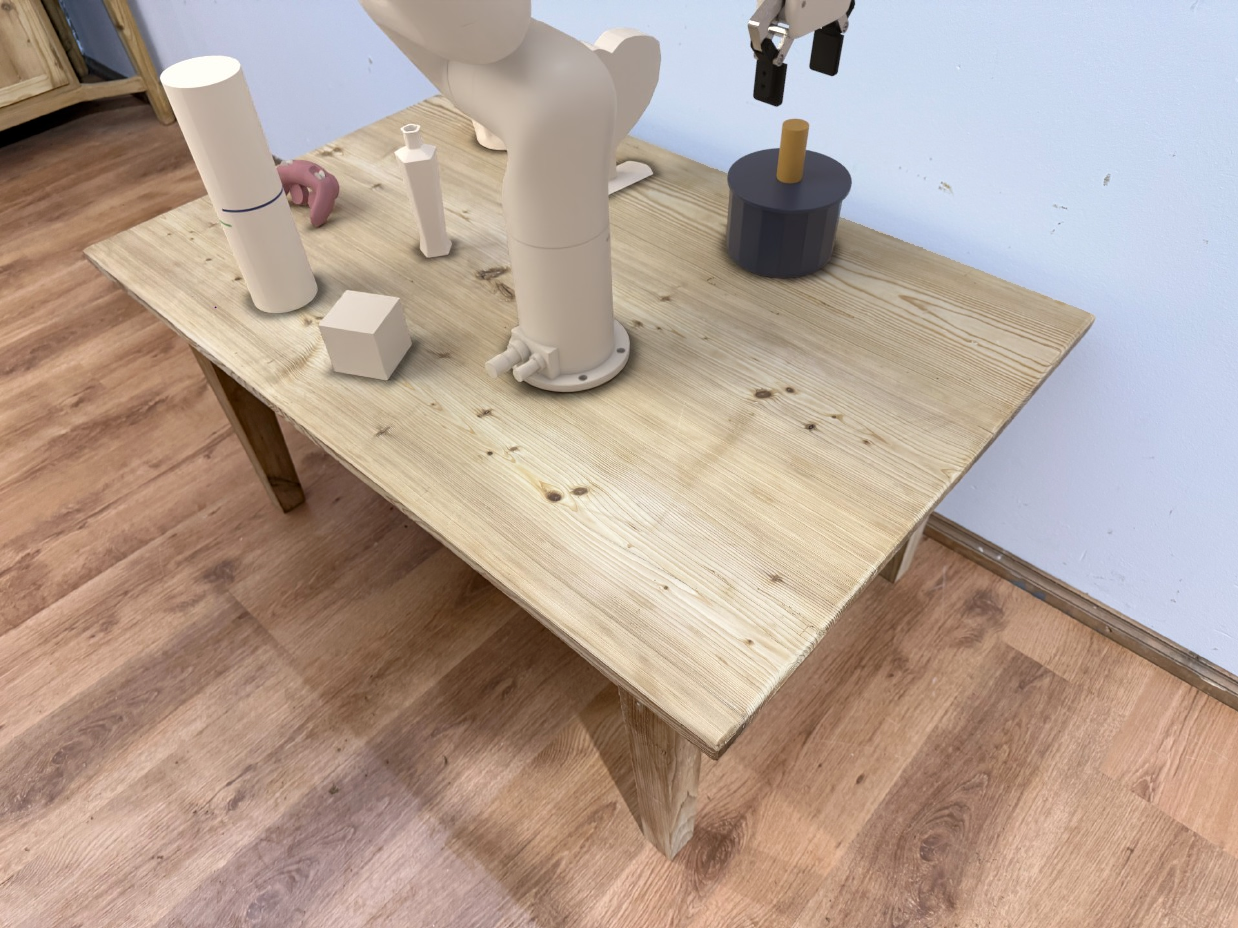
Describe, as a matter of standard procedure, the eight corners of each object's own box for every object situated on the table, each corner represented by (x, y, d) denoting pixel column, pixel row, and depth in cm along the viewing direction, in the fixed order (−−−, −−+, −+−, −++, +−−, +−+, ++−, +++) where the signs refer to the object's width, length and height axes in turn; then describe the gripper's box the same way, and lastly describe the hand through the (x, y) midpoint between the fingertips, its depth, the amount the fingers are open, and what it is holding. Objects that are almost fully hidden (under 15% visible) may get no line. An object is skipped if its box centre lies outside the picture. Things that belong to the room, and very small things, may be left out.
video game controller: (342, 227, 109) (347, 171, 106) (314, 228, 105) (318, 170, 102) (289, 207, 113) (292, 153, 110) (260, 207, 109) (262, 151, 106)
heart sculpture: (639, 155, 117) (637, 16, 103) (664, 169, 114) (665, 27, 101) (549, 196, 110) (535, 52, 97) (574, 211, 107) (562, 65, 94)
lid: (803, 233, 88) (813, 170, 83) (701, 190, 95) (704, 128, 89) (873, 182, 95) (886, 120, 89) (774, 145, 101) (780, 85, 96)
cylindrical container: (300, 316, 94) (215, 90, 76) (241, 309, 95) (144, 85, 77) (328, 279, 99) (254, 58, 80) (271, 273, 100) (186, 53, 81)
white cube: (361, 336, 91) (346, 289, 87) (412, 344, 90) (400, 297, 86) (334, 371, 87) (317, 325, 83) (387, 380, 86) (373, 333, 82)
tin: (791, 291, 94) (801, 224, 88) (705, 251, 100) (708, 185, 94) (852, 244, 100) (866, 178, 94) (767, 208, 106) (774, 144, 100)
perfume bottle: (409, 255, 101) (380, 135, 90) (428, 236, 104) (402, 117, 93) (442, 263, 100) (417, 141, 89) (461, 243, 103) (438, 123, 92)
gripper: (841, -136, 80) (813, 52, 92) (728, -100, 71) (713, 103, 84) (912, -124, 76) (873, 71, 89) (802, -83, 68) (775, 126, 80)
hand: (795, 87), depth 86 cm, fingers open, 9 cm apart
